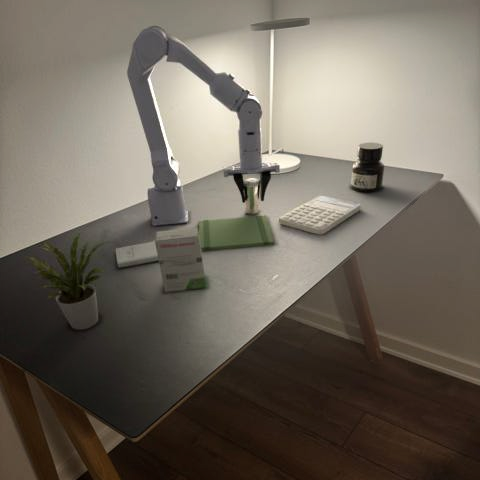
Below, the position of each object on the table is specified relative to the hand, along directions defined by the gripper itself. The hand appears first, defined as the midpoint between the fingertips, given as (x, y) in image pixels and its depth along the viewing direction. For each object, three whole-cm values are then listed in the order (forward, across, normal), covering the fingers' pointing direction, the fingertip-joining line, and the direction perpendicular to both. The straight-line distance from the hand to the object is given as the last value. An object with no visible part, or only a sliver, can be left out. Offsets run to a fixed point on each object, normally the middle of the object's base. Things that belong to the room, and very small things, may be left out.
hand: (252, 200), depth 121 cm
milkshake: (+4, 0, 0) cm, 4 cm away
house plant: (+4, -36, -44) cm, 57 cm away
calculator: (+4, +17, -7) cm, 19 cm away
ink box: (+4, -18, -36) cm, 40 cm away
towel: (+3, -6, -12) cm, 14 cm away
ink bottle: (+4, +35, +12) cm, 37 cm away
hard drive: (+4, -28, -20) cm, 35 cm away
